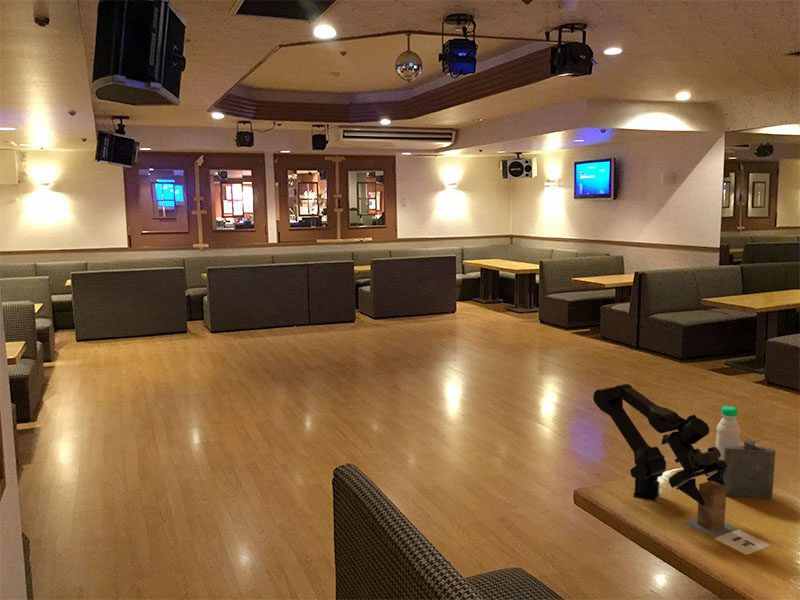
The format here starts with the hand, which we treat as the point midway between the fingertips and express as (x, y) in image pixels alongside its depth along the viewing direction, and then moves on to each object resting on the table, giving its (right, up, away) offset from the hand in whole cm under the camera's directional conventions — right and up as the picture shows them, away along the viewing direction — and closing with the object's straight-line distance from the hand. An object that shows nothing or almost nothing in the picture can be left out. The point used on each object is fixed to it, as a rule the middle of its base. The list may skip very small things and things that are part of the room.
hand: (715, 501), depth 187 cm
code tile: (+4, -9, -7) cm, 12 cm away
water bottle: (+19, -3, +32) cm, 37 cm away
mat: (0, -8, +2) cm, 8 cm away
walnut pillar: (0, -8, +2) cm, 8 cm away
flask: (+20, -5, +21) cm, 29 cm away
